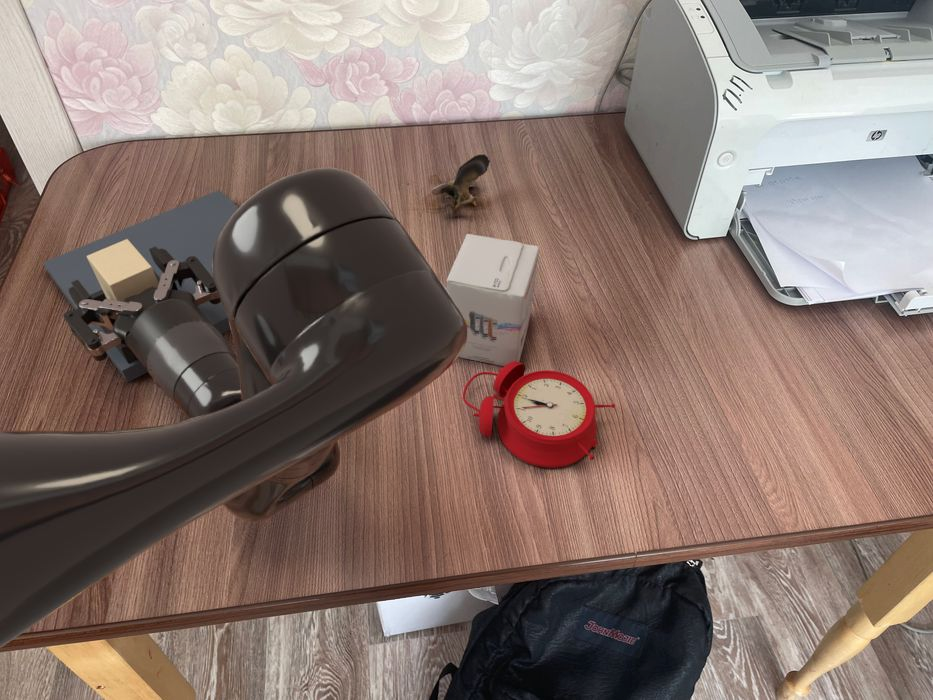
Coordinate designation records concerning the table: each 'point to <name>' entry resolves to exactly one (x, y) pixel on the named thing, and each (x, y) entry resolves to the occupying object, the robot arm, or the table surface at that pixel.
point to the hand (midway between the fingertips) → (116, 269)
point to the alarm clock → (540, 415)
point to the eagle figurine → (463, 183)
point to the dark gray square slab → (173, 231)
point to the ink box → (494, 296)
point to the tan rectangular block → (122, 271)
